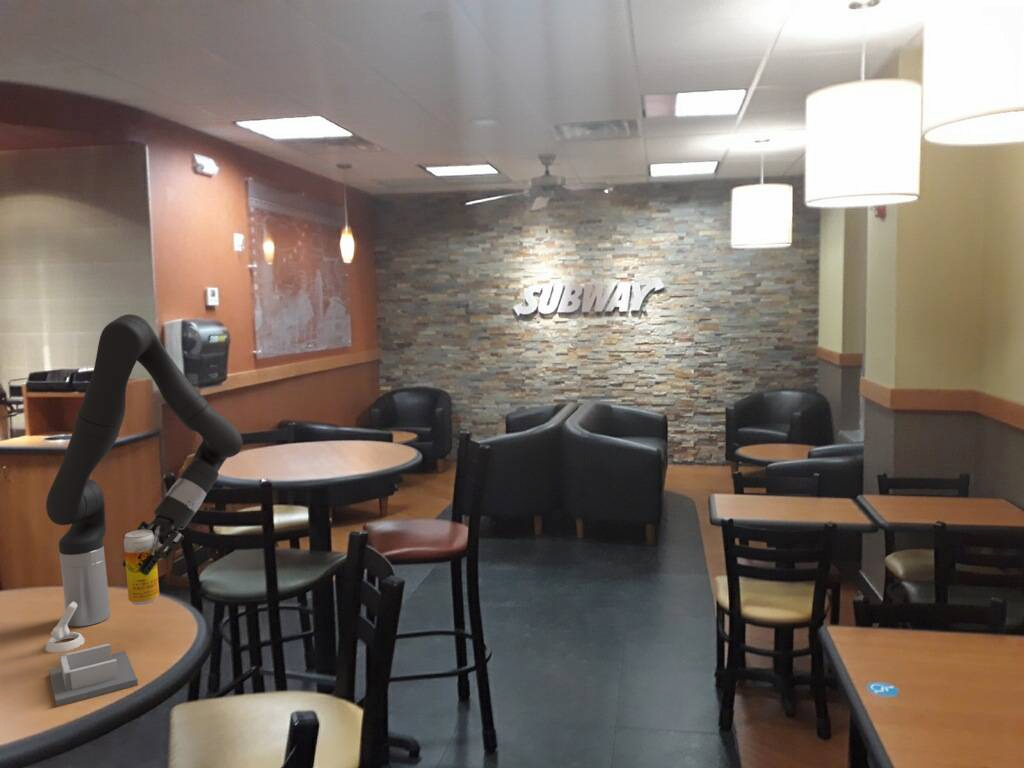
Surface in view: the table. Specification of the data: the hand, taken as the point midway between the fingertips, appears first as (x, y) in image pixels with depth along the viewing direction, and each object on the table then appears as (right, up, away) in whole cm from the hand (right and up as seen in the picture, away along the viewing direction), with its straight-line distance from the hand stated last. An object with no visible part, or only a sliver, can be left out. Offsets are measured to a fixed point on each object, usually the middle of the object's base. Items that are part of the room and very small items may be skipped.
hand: (134, 570), depth 176 cm
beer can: (+1, -7, +2) cm, 8 cm away
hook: (-17, -18, +5) cm, 25 cm away
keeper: (-2, -19, -13) cm, 23 cm away
